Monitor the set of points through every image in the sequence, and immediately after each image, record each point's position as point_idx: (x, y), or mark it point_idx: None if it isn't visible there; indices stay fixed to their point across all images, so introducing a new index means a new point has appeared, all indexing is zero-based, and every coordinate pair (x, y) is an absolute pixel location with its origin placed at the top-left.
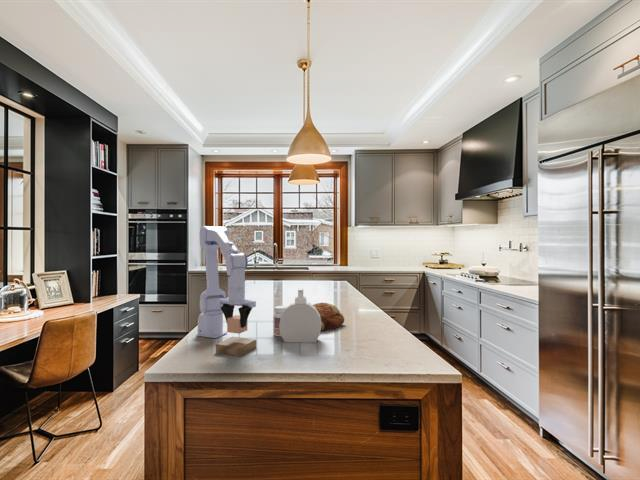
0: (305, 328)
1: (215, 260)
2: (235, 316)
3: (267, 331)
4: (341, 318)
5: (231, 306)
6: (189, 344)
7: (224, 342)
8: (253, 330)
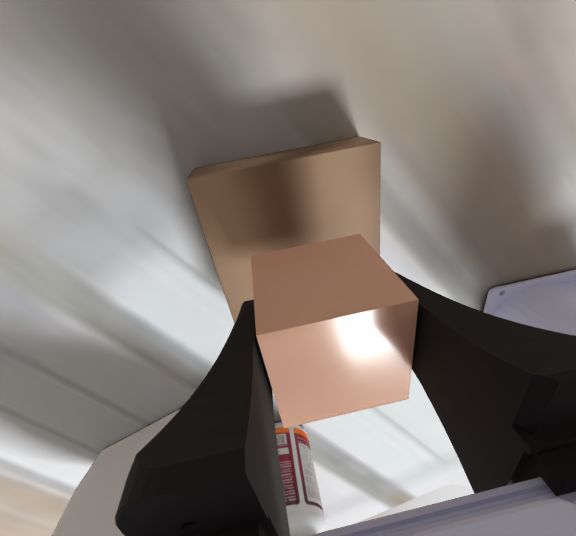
0: (108, 499)
1: None
2: (377, 374)
3: (347, 431)
4: None
5: (492, 468)
6: (570, 161)
7: (352, 199)
8: (400, 414)
